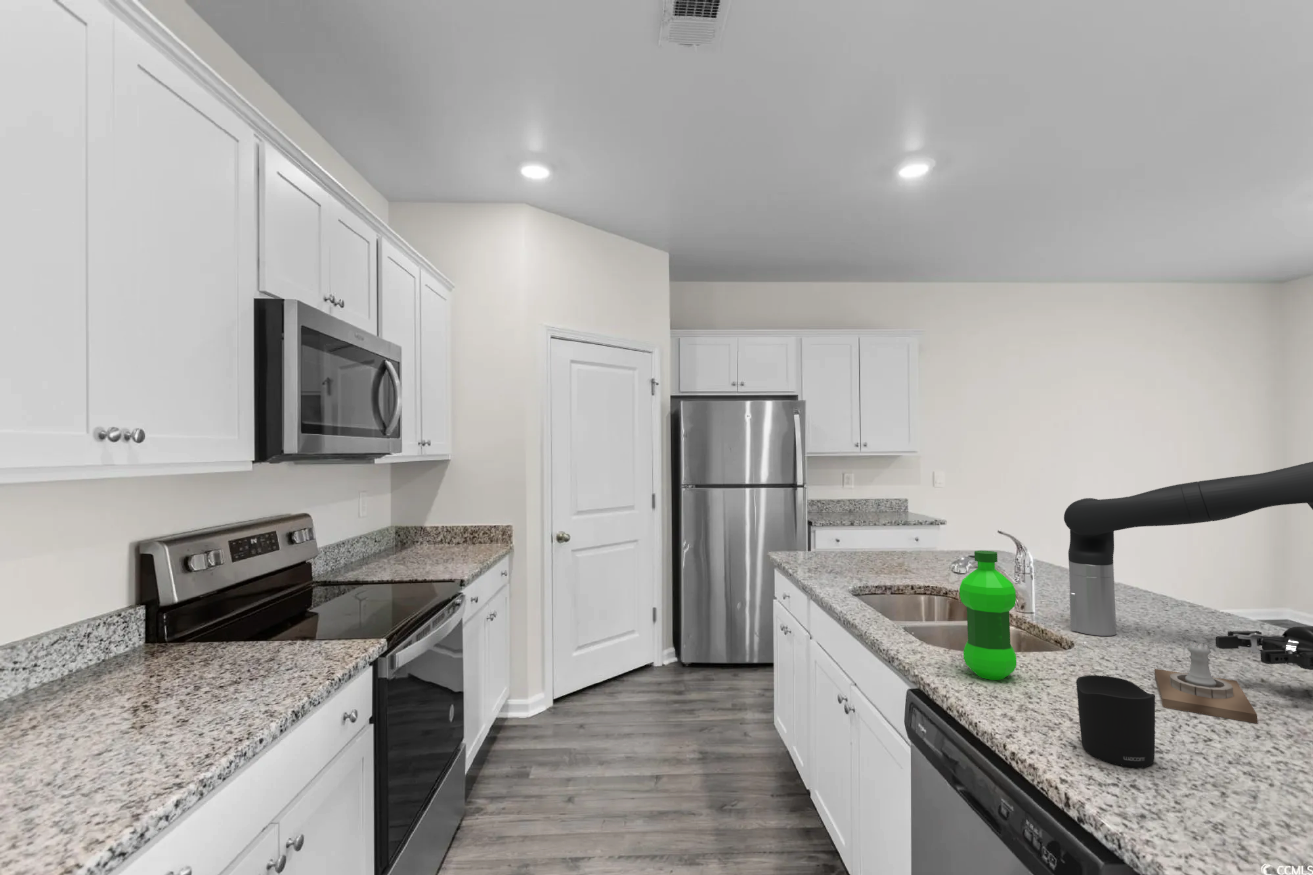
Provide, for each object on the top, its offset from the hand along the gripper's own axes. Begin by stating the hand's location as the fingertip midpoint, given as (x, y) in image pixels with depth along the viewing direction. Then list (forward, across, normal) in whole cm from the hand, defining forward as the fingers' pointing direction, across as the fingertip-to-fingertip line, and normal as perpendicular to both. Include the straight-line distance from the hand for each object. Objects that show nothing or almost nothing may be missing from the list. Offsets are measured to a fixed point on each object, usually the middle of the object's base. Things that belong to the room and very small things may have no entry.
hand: (1239, 649), depth 111 cm
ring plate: (+8, 0, +8) cm, 11 cm away
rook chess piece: (+7, 0, +7) cm, 10 cm away
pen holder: (+38, +19, +9) cm, 44 cm away
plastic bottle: (+39, -13, +9) cm, 42 cm away
